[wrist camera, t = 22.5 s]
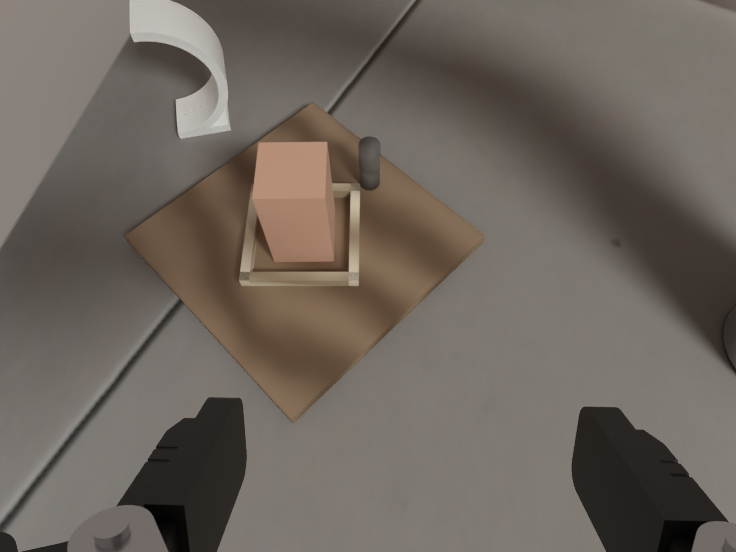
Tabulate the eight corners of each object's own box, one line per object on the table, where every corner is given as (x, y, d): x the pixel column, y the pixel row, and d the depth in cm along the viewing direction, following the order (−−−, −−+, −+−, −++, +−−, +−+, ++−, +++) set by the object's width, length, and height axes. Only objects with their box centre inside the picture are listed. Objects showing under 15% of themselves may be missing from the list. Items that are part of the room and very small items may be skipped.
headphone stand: (178, 105, 54) (129, -4, 43) (236, 96, 54) (203, -15, 43) (180, 139, 51) (129, 33, 41) (241, 129, 52) (206, 21, 41)
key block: (335, 211, 46) (327, 141, 38) (333, 261, 44) (324, 198, 36) (278, 212, 46) (258, 142, 38) (274, 262, 44) (251, 199, 36)
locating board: (314, 111, 53) (307, 60, 47) (482, 242, 46) (497, 201, 40) (129, 243, 46) (96, 202, 41) (292, 423, 39) (279, 403, 33)
